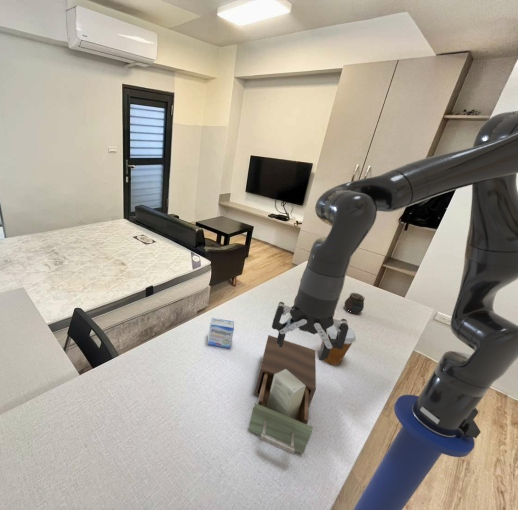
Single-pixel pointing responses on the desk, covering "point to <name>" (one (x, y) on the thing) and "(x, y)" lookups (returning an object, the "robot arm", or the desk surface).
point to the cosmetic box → (286, 394)
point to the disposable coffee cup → (338, 354)
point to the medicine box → (220, 333)
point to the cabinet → (288, 363)
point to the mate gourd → (355, 303)
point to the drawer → (280, 422)
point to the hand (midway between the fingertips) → (300, 351)
